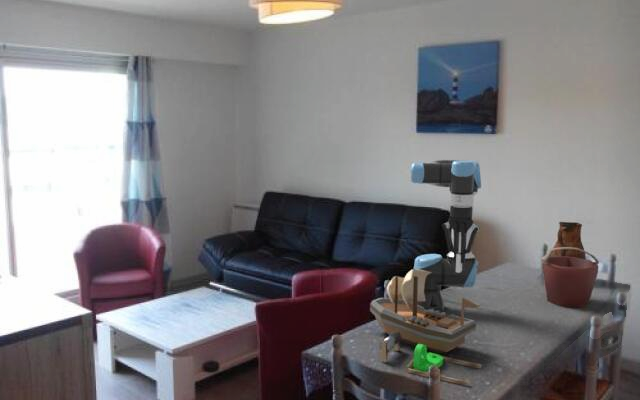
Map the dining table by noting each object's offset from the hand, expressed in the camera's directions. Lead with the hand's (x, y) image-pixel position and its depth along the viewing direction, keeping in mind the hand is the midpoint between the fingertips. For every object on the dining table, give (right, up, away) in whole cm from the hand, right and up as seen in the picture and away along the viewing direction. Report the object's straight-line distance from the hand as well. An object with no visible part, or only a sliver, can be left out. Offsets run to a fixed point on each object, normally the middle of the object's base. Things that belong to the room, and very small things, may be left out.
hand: (458, 271), depth 202 cm
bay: (-8, -31, -13) cm, 34 cm away
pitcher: (+76, -17, +91) cm, 120 cm away
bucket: (+63, -21, +59) cm, 89 cm away
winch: (-24, -29, -2) cm, 38 cm away
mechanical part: (-12, -30, -10) cm, 34 cm away
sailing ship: (-11, -28, +10) cm, 32 cm away
